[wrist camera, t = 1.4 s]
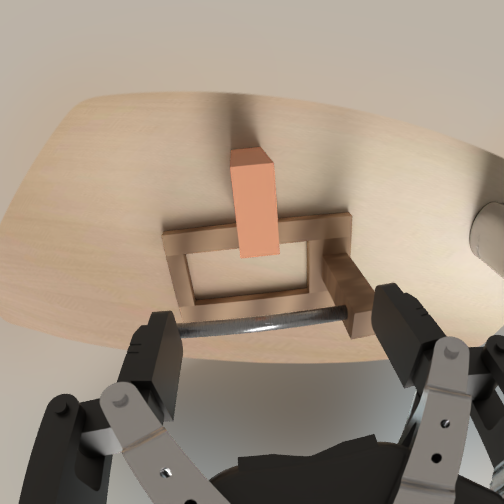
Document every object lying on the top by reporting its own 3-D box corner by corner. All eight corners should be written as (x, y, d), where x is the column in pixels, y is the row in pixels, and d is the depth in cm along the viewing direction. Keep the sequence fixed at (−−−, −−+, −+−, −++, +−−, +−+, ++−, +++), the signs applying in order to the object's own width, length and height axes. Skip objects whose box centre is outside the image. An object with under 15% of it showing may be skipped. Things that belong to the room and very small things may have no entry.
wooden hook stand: (348, 212, 33) (398, 261, 22) (343, 298, 38) (377, 364, 28) (163, 231, 33) (133, 291, 22) (184, 316, 38) (171, 389, 27)
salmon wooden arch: (231, 149, 30) (230, 167, 20) (260, 146, 30) (273, 162, 20) (238, 213, 33) (240, 258, 23) (265, 211, 33) (279, 254, 23)
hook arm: (343, 301, 27) (353, 320, 25) (342, 313, 28) (351, 332, 25) (165, 321, 27) (159, 341, 24) (169, 332, 28) (164, 353, 25)
